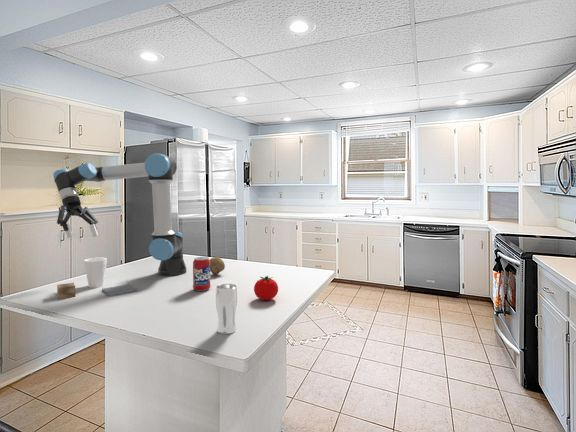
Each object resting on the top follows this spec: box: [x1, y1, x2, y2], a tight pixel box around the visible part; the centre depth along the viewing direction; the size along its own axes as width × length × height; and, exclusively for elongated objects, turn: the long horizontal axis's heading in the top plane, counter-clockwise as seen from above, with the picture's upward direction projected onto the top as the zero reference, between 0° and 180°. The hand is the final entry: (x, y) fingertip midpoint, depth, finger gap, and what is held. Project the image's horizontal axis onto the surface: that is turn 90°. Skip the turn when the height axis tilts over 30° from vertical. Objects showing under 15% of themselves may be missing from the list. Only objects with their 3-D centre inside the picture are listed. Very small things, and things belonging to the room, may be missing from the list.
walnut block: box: [56, 282, 76, 300], centre depth 145 cm, size 6×6×5 cm
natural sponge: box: [209, 256, 226, 276], centre depth 184 cm, size 9×9×10 cm
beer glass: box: [215, 283, 238, 335], centre depth 111 cm, size 7×7×15 cm
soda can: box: [192, 256, 211, 292], centre depth 156 cm, size 8×8×15 cm
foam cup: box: [83, 256, 108, 289], centre depth 161 cm, size 10×9×13 cm
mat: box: [101, 283, 139, 297], centre depth 154 cm, size 12×12×1 cm
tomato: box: [253, 275, 279, 301], centre depth 143 cm, size 10×10×10 cm
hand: (83, 236), depth 163 cm, fingers open, 13 cm apart
